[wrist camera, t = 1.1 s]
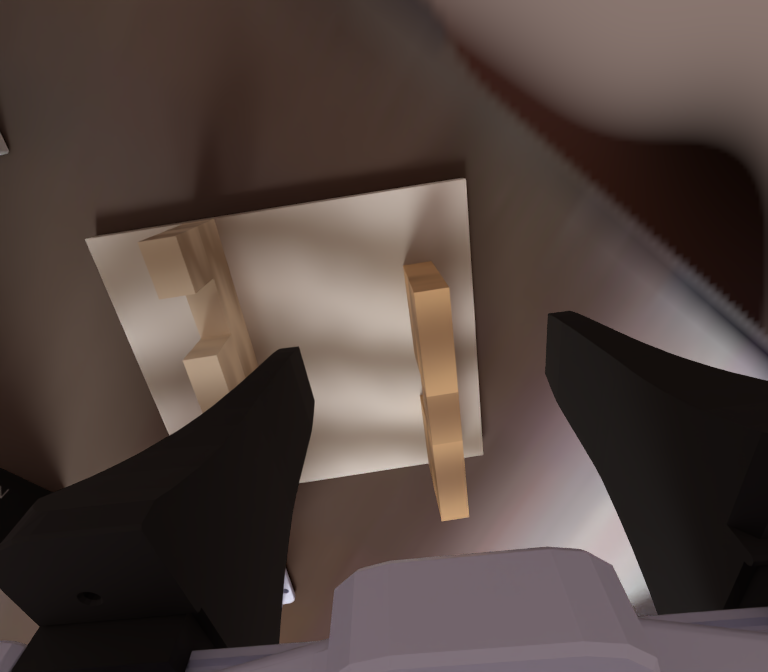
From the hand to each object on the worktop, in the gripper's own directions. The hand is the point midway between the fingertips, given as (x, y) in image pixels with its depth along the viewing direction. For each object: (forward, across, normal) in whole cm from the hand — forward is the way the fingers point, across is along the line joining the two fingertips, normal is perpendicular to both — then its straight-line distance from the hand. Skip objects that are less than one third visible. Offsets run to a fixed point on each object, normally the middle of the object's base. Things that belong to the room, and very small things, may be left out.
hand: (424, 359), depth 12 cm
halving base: (+12, +7, +6) cm, 15 cm away
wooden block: (+11, 0, +8) cm, 14 cm away
